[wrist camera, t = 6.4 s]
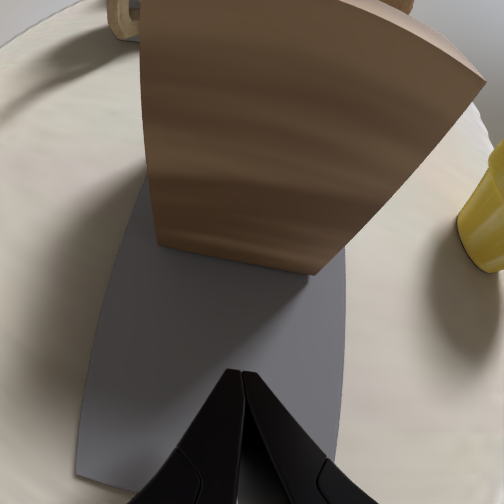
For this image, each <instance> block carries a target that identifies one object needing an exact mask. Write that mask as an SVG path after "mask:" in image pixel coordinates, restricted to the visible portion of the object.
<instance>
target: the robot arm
mask: <svg viewBox="0 0 504 504" xmlns="http://www.w3.org/2000/svg"><path fill="white" fill-rule="evenodd" d="M237 499H238V504H379V503H377V502H376V501H375V500H373V499H372V498H371V497H370V496H368V495H367V494H366V493H365V492H364V491H362V490H361V489H360V488H359V487H358V486H357V485H355V484H354V483H353V482H352V481H351V480H350V479H349V478H348V477H347V476H346V475H345V474H344V473H343V472H342V471H341V470H340V469H339V468H338V467H337V466H336V465H335V464H334V463H333V462H332V460H331V459H330V458H327V455H326V454H325V453H324V452H323V451H322V450H321V448H320V447H319V446H318V445H317V444H316V443H315V442H314V440H313V439H312V438H311V437H310V436H309V435H308V434H307V432H306V431H305V430H304V429H303V428H302V427H301V425H300V424H299V423H298V422H297V421H296V419H295V418H294V417H293V416H292V415H291V414H290V412H289V411H288V410H287V409H286V408H285V406H284V405H283V404H282V403H281V401H280V400H279V399H278V398H277V397H276V395H275V394H274V393H273V392H272V390H271V389H270V388H269V387H268V385H267V384H266V383H265V382H264V380H263V379H262V378H261V377H260V375H259V374H258V373H257V372H252V371H242V372H241V371H240V370H237V369H230V368H227V369H225V371H224V372H223V374H222V375H221V377H220V379H219V380H218V382H217V383H216V385H215V387H214V388H213V390H212V391H211V393H210V395H209V396H208V398H207V399H206V401H205V402H204V404H203V406H202V407H201V409H200V410H199V412H198V413H197V415H196V416H195V418H194V419H193V421H192V423H191V424H190V426H189V427H188V429H187V430H186V432H185V433H184V435H183V436H182V438H181V439H180V441H179V442H178V444H177V445H176V448H174V449H173V451H172V452H171V454H170V455H169V457H168V458H167V460H166V461H165V462H164V464H163V465H162V466H161V468H160V469H159V470H158V472H157V473H156V474H155V475H154V476H153V477H152V478H151V480H150V481H149V482H148V483H147V484H146V485H145V486H144V487H143V488H142V489H141V490H140V491H139V492H138V493H137V494H136V495H135V496H134V497H133V498H132V499H131V500H130V501H129V502H128V503H127V504H236V503H237Z"/></svg>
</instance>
